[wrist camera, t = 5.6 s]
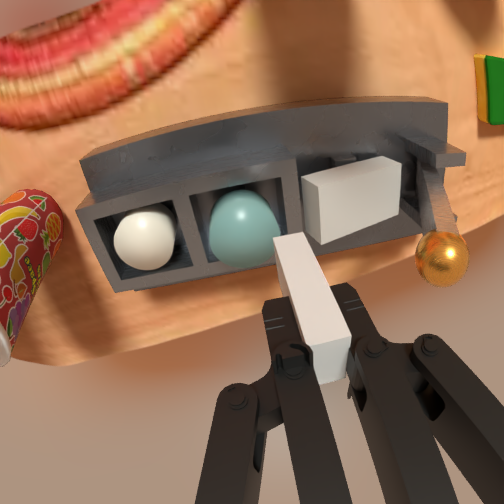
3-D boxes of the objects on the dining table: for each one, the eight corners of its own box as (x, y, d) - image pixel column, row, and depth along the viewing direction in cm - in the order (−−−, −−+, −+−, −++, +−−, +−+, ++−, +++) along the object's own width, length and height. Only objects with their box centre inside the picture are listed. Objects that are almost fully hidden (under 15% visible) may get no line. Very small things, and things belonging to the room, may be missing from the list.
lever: (406, 191, 23) (409, 299, 13) (408, 153, 21) (422, 242, 12) (439, 195, 21) (463, 305, 12) (442, 157, 20) (481, 250, 10)
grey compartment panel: (140, 270, 27) (126, 325, 21) (93, 149, 20) (54, 181, 15) (420, 214, 27) (460, 253, 21) (426, 96, 20) (481, 114, 15)
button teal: (217, 250, 20) (218, 273, 18) (203, 197, 18) (201, 215, 16) (276, 239, 20) (283, 260, 18) (268, 183, 18) (275, 200, 16)
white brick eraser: (305, 231, 21) (321, 245, 19) (300, 176, 18) (318, 186, 17) (381, 203, 22) (398, 214, 20) (382, 155, 20) (401, 163, 18)
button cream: (134, 254, 22) (127, 274, 20) (115, 208, 20) (104, 225, 17) (183, 243, 22) (180, 263, 20) (167, 194, 20) (162, 210, 17)
